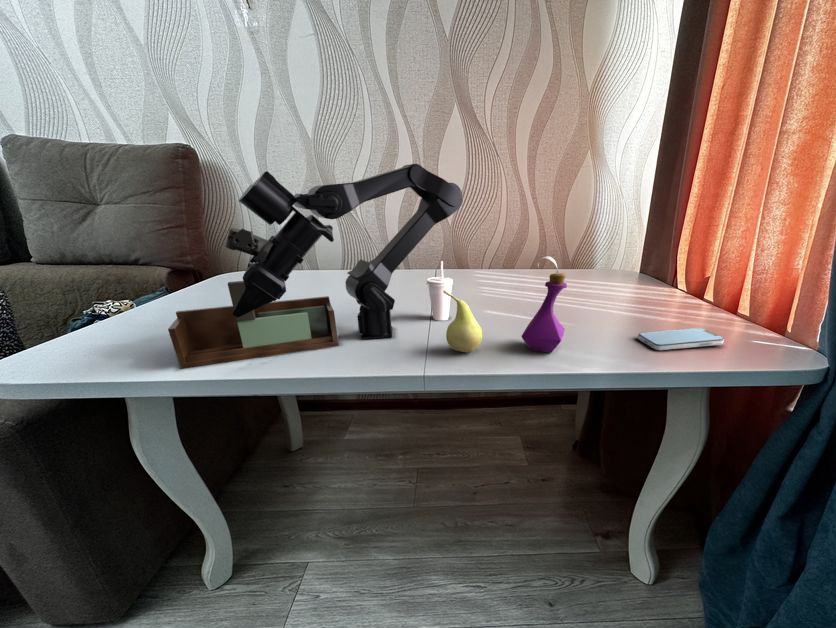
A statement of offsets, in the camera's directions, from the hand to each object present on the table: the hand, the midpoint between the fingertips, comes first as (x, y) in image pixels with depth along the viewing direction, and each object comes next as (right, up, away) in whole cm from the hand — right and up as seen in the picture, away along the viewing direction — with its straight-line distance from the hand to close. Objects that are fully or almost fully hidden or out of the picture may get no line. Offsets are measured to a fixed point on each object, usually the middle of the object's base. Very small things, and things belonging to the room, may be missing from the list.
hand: (237, 308), depth 68 cm
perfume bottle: (+57, -7, +7) cm, 58 cm away
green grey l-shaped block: (+5, -7, +5) cm, 10 cm away
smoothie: (+35, 0, +26) cm, 43 cm away
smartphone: (+86, -6, +10) cm, 87 cm away
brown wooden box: (+2, -7, +7) cm, 10 cm away
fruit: (+41, -8, +6) cm, 42 cm away
